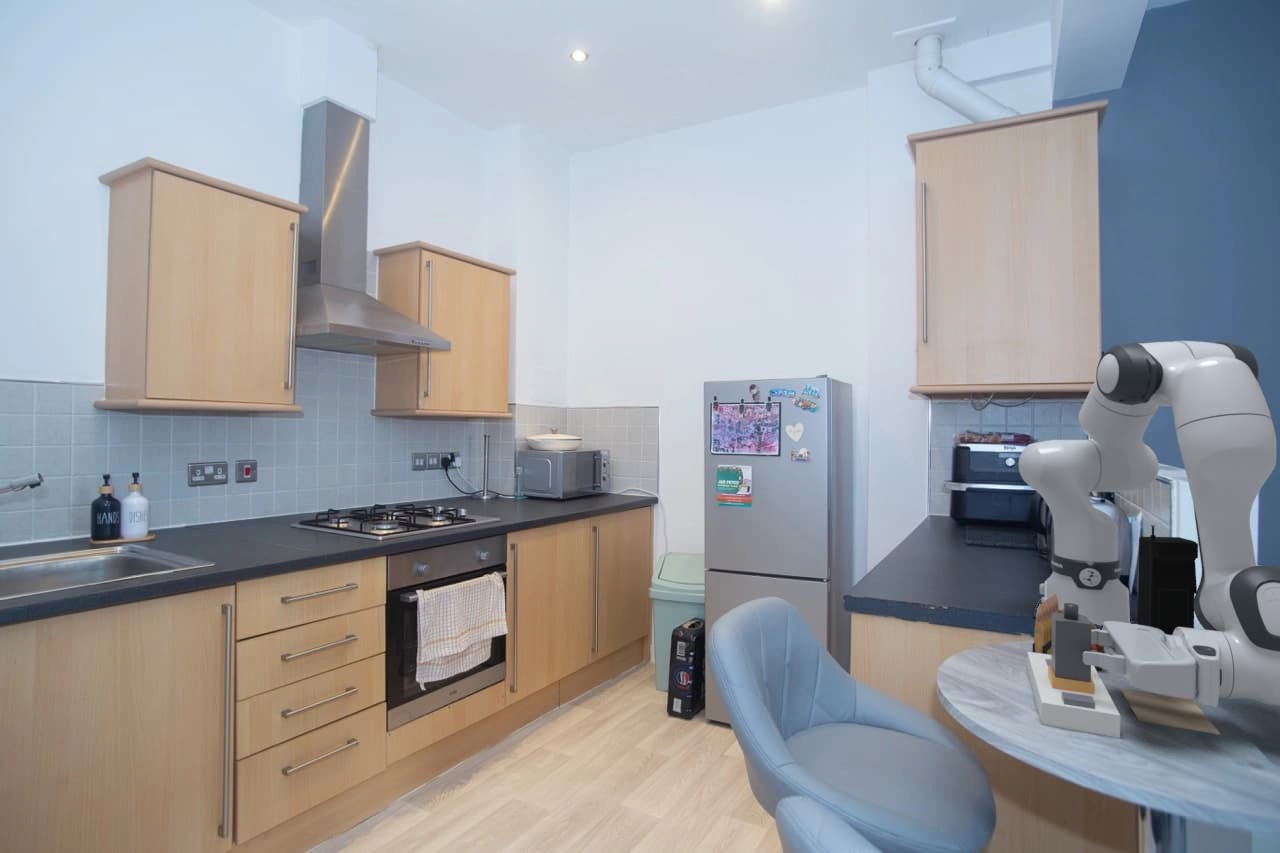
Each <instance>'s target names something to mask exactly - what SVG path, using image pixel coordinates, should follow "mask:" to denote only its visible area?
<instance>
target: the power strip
mask: <svg viewBox="0 0 1280 853" xmlns="http://www.w3.org/2000/svg"><path fill="white" fill-rule="evenodd" d="M1026 659H1027V660H1026V661H1027V662H1026V665H1027V666H1026V667H1027V669H1026V670H1027V672H1028V678H1029V681H1030V685H1031V688H1032V689H1031V690H1032V692H1033V696H1034V700H1035V704H1036V707H1037V711H1038V715H1039V718H1040V719H1039V720H1040V722H1041V725H1045V726H1051V727H1056V728H1061V729H1066V730H1067V729H1068V730H1072V731H1079V732H1085V733H1091V734H1097V735H1102V736H1107V737H1113V738H1118V739H1120V738H1121V714H1120V713H1119V711H1118V708H1117V706H1116V705H1115V703H1114V701H1113V699H1112V697H1111V695H1110V693H1109V692H1108V690H1107V688H1106V686H1105V683H1104V682H1103V680H1102V678H1101V676H1100V675H1099V673H1098V671H1097V669H1095V667H1094V666H1092V665H1091V678H1092V680H1093V682H1094V684H1095V694H1088V693H1082V692H1075V691H1069V690H1062V689H1056V688H1052V686H1051V683H1050V680H1049V677H1048V666H1051V655H1049V654H1041V653H1034V652H1033V651H1027V657H1026Z"/></svg>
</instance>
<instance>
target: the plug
mask: <svg viewBox="0 0 1280 853" xmlns="http://www.w3.org/2000/svg"><path fill="white" fill-rule="evenodd" d="M1083 649H1088V650H1091V623H1090V621H1089V620H1088V618H1087V616H1082V615H1078V605H1077V604H1073V603H1064V613H1055V612H1052V655H1051V666H1048V677H1049V680H1050V683H1051V686H1052V688H1056V689H1062V690H1069V691H1075V692H1082V693H1088V694H1095V684H1094V682H1093V680H1092V678H1091V665H1086V664H1084V662H1083V660H1082V650H1083Z"/></svg>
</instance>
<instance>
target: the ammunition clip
mask: <svg viewBox="0 0 1280 853" xmlns="http://www.w3.org/2000/svg"><path fill="white" fill-rule="evenodd" d="M1052 612H1055V613H1059V606H1058V599H1057V596H1056V594H1054V595H1053V596H1051V597H1050V598H1048V599H1047V600H1045V602H1042V604H1039V606H1038V608H1037V613H1036V618H1035V624H1034V625H1035V626H1034V631H1033V632H1034V634H1033V635H1034V636H1033V637H1034V638H1033V639H1034V640H1033V641H1034V642H1032V652H1034V653H1041V654H1049V655H1052Z"/></svg>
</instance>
